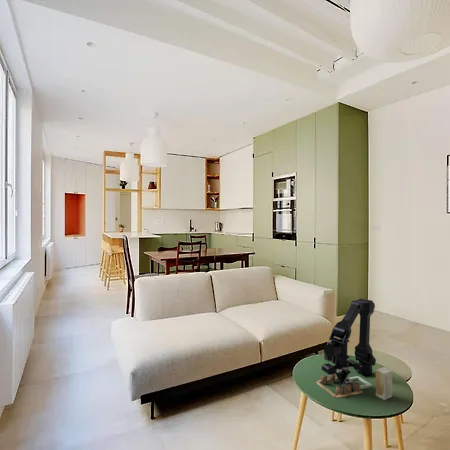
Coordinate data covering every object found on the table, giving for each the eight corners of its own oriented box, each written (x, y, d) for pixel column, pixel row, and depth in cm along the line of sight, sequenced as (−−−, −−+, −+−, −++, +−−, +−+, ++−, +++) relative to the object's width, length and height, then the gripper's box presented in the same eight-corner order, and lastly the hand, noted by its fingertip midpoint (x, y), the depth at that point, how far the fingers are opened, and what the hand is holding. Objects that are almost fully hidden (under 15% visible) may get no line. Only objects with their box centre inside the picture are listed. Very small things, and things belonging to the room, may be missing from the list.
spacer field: (340, 377, 154) (340, 370, 154) (362, 392, 140) (362, 385, 140) (315, 382, 149) (315, 375, 149) (335, 398, 135) (336, 390, 135)
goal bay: (357, 377, 154) (357, 376, 154) (371, 386, 146) (371, 384, 146) (347, 380, 152) (347, 378, 152) (360, 389, 143) (360, 386, 143)
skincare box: (383, 392, 141) (384, 366, 141) (392, 397, 137) (392, 370, 137) (375, 395, 138) (375, 369, 138) (383, 400, 134) (383, 373, 134)
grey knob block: (347, 383, 149) (347, 376, 149) (354, 387, 145) (354, 380, 145) (340, 384, 147) (340, 377, 147) (346, 389, 143) (346, 382, 143)
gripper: (344, 344, 156) (344, 374, 156) (314, 348, 150) (314, 379, 150) (360, 352, 146) (360, 384, 145) (329, 357, 139) (329, 390, 139)
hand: (340, 384), depth 145 cm, fingers closed
